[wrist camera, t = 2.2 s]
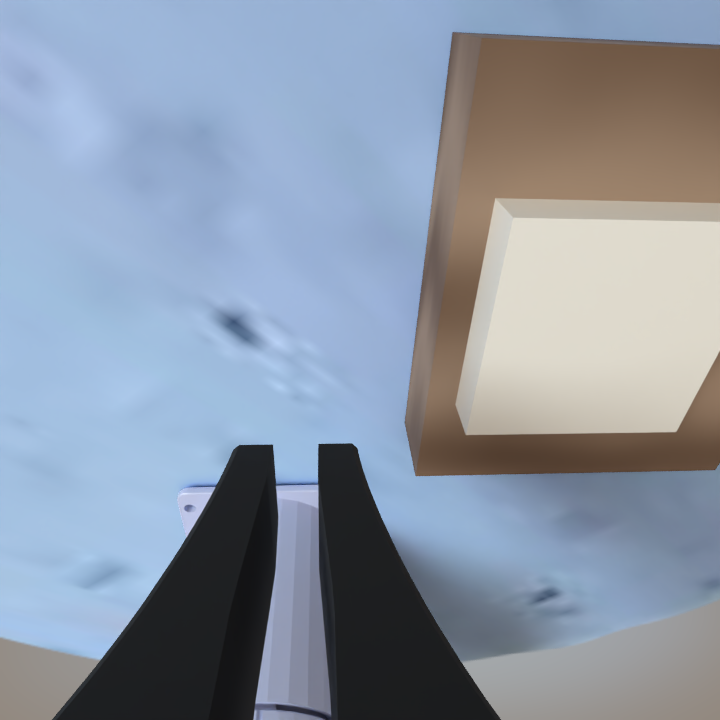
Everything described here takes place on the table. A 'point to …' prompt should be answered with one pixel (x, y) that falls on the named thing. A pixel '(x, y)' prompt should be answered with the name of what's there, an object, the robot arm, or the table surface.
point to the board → (559, 182)
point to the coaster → (592, 317)
